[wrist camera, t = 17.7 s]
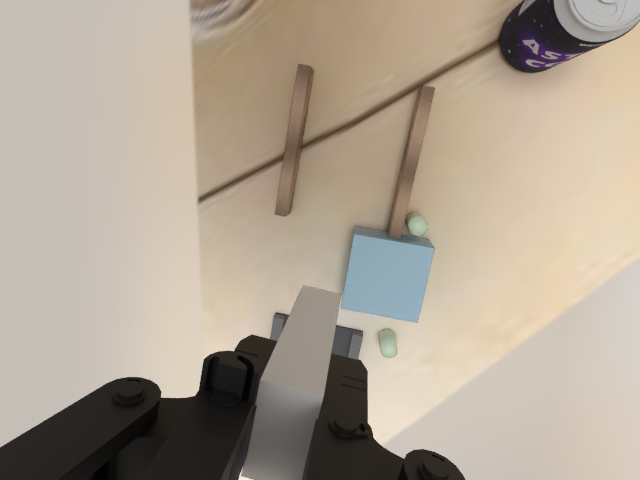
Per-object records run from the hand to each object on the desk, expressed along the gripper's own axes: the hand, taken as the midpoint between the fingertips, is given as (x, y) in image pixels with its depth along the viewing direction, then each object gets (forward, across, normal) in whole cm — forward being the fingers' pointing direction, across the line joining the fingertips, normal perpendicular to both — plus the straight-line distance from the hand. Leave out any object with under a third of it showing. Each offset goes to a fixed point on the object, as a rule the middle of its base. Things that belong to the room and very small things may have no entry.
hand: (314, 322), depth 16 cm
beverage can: (+25, +12, +18) cm, 33 cm away
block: (+25, +5, -4) cm, 26 cm away
